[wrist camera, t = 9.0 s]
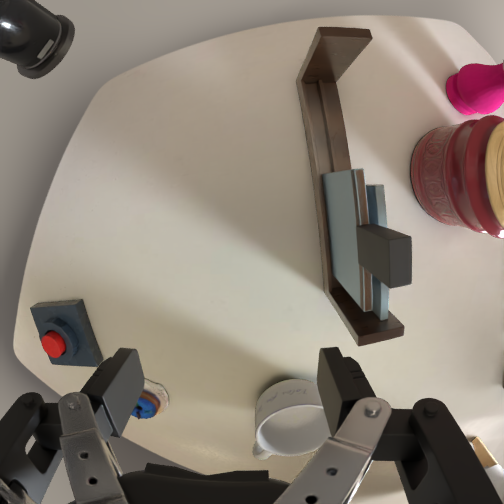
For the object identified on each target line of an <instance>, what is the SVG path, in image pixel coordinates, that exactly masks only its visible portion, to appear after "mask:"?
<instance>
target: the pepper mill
mask: <svg viewBox="0 0 504 504" xmlns="http://www.w3.org/2000/svg"><path fill="white" fill-rule="evenodd" d="M446 90H447V95H448V98H449V100H450V102H451V103H452V105H453V106H454V107H455V108H456V109H457V110H458V111H459V112H460V113H462V114H465V115H470V114H474V113H477V112H478V113H480V114H489V113H492V112H494V111H495V110H497V109H498V108H499V107H500V106H501V105H502V103H503V102H504V60H503V63H502V64H498V65H483V64H477V63H476V64H468V65H465V66H463V67H462V68H461V69H460V71H459V73H457V74H455V75H452V76H451V77H449V78H448V80H447V83H446Z"/></svg>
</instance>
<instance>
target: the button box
mask: <svg viewBox="0 0 504 504" xmlns="http://www.w3.org/2000/svg"><path fill="white" fill-rule="evenodd" d="M30 310H31V313H32V315H33V318H34V321H35V324H36V327H37V329H38V332H39V337H40V340H41V343H42V338H43V337H44V336H45V335H46V334H47V333H49V332H50V331H55V332H57V333H59V334H60V335H61V337H62V338H63V339H64V341H65V344H66V350H65V351H64V352H63V353H62V354H61V355H60V356H59V357H58V358H53V357H51V356H49V355H48V357H49V359H50V361H51V363H52V364H56V365H70V366H89V367H98V366H99V364H100V363H101V362H102V361H103V357H102V355H101V352H100V350H99V347H98V344H97V342H96V339H95V336H94V333H93V331H92V328H91V325H90V322H89V319H88V316H87V313H86V310H85V306H84V303H83V300H82V299H81V300H70V301H58V302H46V303H37V304H36V305H34V306H32V307H31V308H30Z"/></svg>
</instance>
